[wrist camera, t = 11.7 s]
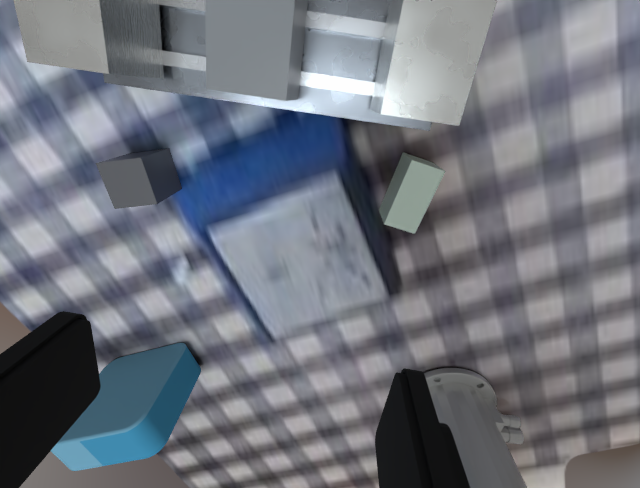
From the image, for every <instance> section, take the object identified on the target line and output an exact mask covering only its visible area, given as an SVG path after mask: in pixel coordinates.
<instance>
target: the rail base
mask: <svg viewBox="0 0 640 488" xmlns="http://www.w3.org/2000/svg"><path fill="white" fill-rule="evenodd" d="M496 2H497V0H308V5H307V15H306V25H305V35H304V45H303V55H302V65H301V75H300V85H299V95H298V99H297V100H290V101H282V100H275V99H269V98H262V97H256V96H249V95H243V94H236V93H230V92H223V91H217V90H210V89H206V27H205V0H14V4H15V8H16V13H17V17H18V22H19V26H20V31H21V35H22V40H23V44H24V48H25V53H26V57H27V62H32V63H39V64H45V65H52V66H59V67H66V68H72V69H79V70H86V71H93V72H99V73H103V74H104V81H105V83H110V84H117V85H124V86H131V87H137V88H144V89H151V90H158V91H164V92H171V93H178V94H185V95H191V96H198V97H205V98H212V99H219V100H225V101H232V102H239V103H246V104H252V105H259V106H266V107H273V108H279V109H286V110H293V111H300V112H306V113H313V114H320V115H327V116H333V117H340V118H347V119H354V120H360V121H367V122H374V123H381V124H388V125H394V126H401V127H408V128H415V129H421V130H428V131H430V127H431V124H432V122H436V123H443V124H450V125H456V126H459V124H460V121H461V118H462V115H463V111H464V108H465V105H466V101H467V98H468V95H469V91H470V88H471V85H472V82H473V78H474V75H475V72H476V68H477V65H478V62H479V58H480V55H481V52H482V49H483V45H484V42H485V39H486V35H487V32H488V29H489V25H490V22H491V19H492V16H493V12H494V9H495V6H496Z"/></svg>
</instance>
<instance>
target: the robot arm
mask: <svg viewBox="0 0 640 488" xmlns="http://www.w3.org/2000/svg"><path fill="white" fill-rule="evenodd" d="M100 387H101V384H100V378H99V372H98V366H97V360H96V354H95V348H94V342H93V336H92V330H91V324H90V322H89V321H87V319H86V317H85V316H84V315H82V314H76V313H70V312H64V311H63V312H59V313H57V314H56V315H54V316H53V317H52V318H50V319H49V320H47V321H46V322H45V323H43V324H42V325H40V326H39V327H38V328H36V329H35V330H33V331H32V332H31V333H29V334H28V335H27V336H25V337H24V338H22V339H21V340H20V341H18V342H17V343H15V344H14V345H13V346H11V347H10V348H8V349H7V350H6V351H4V352H3V353H1V354H0V488H19V487H20V486H21V484H22V483H23V482H24V481H25V480H26V479H27V478H28V477H29V475H30V474H31V473H32V472H33V471H34V469H35V468H36V467H37V466H38V465H39V464H40V462H41V461H42V460H43V459H44V458H45V457H46V455H47V454H48V453H49V452H50V451H51V450H52V448H53V447H54V446H55V445H56V444H57V443H58V441H59V440H60V439H61V438H62V437H63V436H64V434H65V433H66V432H67V431H68V430H69V429H70V427H71V426H72V425H73V424H74V423H75V422H76V420H77V419H78V418H79V417H80V416H81V415H82V413H83V412H84V411H85V410H86V409H87V408H88V406H89V405H90V404H91V403H92V402H93V401H94V399H95V398H96V397H97V395H98V393H99V391H100ZM496 407H497V398H496V394H495V392H494V390H493V388H492V386H491V385H490V383H489V382H488V381H487V380H486V379H485V378H484V377H482V376H481V375H479V374H477V373H475V372H473V371H470V370H466V369H460V368H442V369H436V370H432V371H429V372H426V373H423V372H422V371H416V370H410V369H403V370H402V372H401V373H396V374H395V376H394V379H393V382H392V385H391V388H390V391H389V395H388V398H387V401H386V404H385V407H384V410H383V413H382V416H381V419H380V422H379V425H378V428H377V432H376V438H375V446H376V457H377V467H378V478H379V488H527V486H526V484H525V482H524V480H523V478H522V476H521V474H520V472H519V470H518V468H517V466H516V464H515V462H514V459H513V457H512V455H511V453H510V451H509V449H508V447H507V445H506V443H513V444H522V443H523V440H524V437H523V433H522V431H521V430H520V426H521V421H520V418H519V417H518V416H513V415H502V414H501V413H500V412H498V410H497V408H496ZM505 442H506V443H505Z"/></svg>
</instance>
